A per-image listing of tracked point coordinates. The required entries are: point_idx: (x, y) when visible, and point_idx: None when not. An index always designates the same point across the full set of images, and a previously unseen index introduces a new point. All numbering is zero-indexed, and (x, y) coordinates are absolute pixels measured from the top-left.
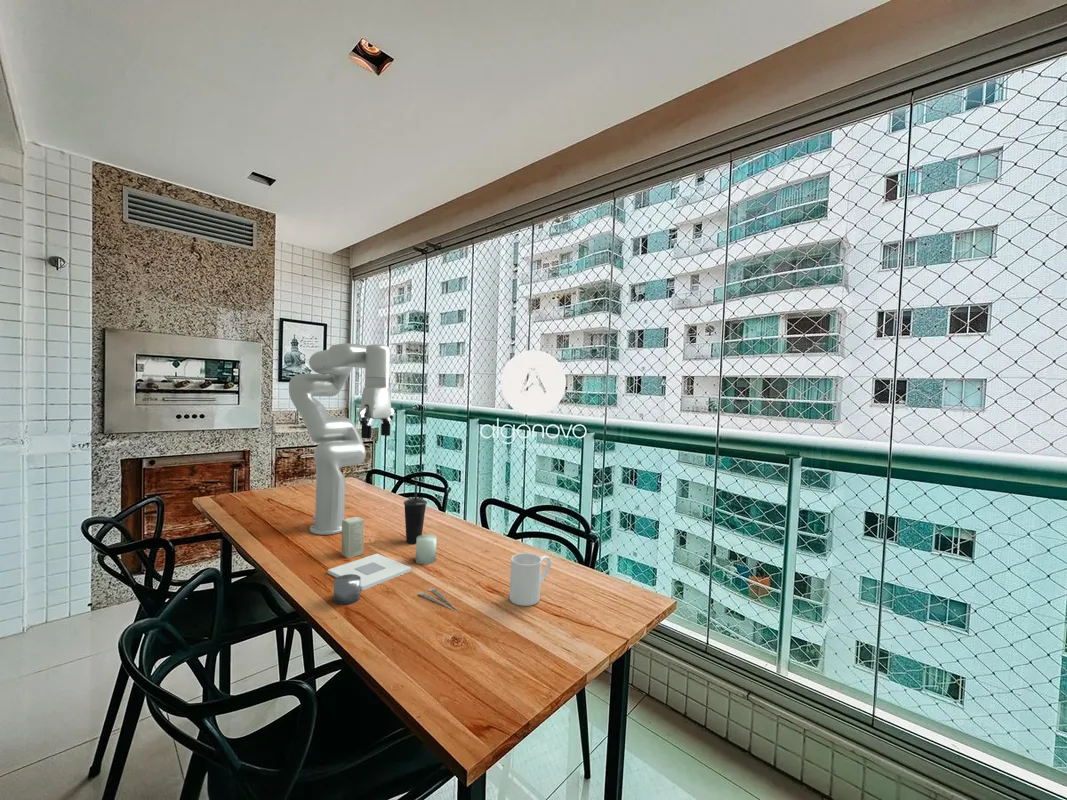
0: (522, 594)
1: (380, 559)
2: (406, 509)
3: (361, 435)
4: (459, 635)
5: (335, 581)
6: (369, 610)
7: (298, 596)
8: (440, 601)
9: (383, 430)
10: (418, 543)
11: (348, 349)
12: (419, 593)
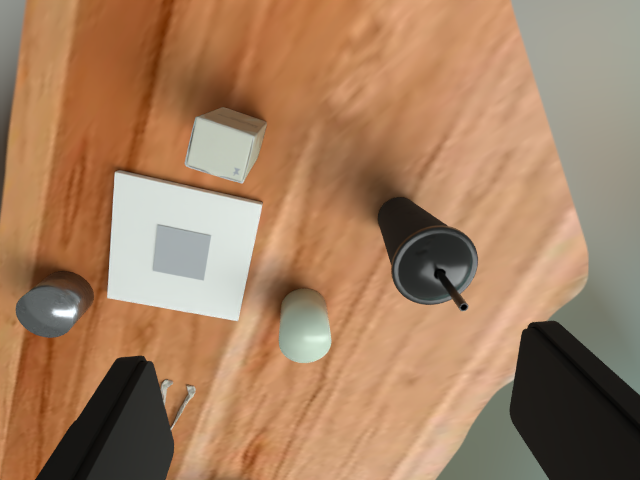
0: None
1: (236, 237)
2: (394, 247)
3: (108, 373)
4: None
5: (19, 303)
6: (69, 349)
7: (5, 205)
8: None
9: (558, 403)
10: (280, 330)
11: None
12: (162, 385)
